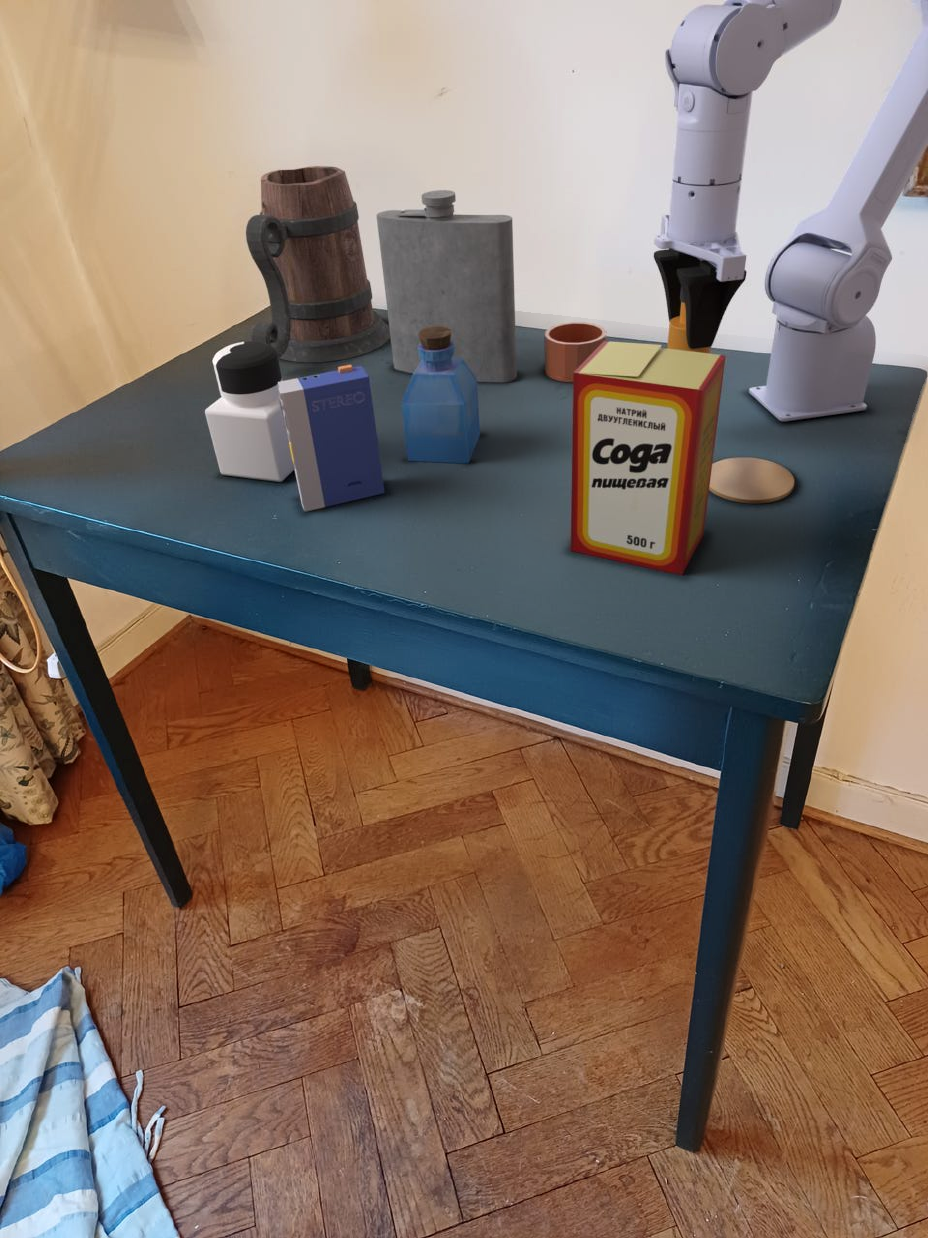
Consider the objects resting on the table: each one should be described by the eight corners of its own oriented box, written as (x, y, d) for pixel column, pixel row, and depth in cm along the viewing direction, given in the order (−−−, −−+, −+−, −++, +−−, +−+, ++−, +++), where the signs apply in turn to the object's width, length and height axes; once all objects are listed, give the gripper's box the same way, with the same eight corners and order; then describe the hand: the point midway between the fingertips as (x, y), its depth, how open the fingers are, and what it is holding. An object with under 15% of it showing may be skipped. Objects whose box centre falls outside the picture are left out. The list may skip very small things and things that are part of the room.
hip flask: (520, 373, 104) (516, 189, 92) (507, 386, 102) (501, 199, 89) (401, 359, 110) (382, 185, 98) (386, 372, 107) (364, 193, 95)
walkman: (377, 480, 86) (360, 361, 79) (384, 493, 84) (368, 372, 76) (297, 498, 84) (273, 378, 77) (303, 512, 82) (278, 389, 75)
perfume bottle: (468, 463, 88) (460, 344, 80) (408, 460, 89) (394, 344, 81) (479, 434, 92) (473, 320, 85) (422, 433, 93) (411, 320, 86)
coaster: (769, 455, 85) (770, 452, 85) (809, 496, 79) (810, 492, 78) (690, 467, 84) (690, 463, 84) (724, 509, 78) (724, 505, 78)
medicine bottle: (315, 450, 92) (294, 336, 84) (282, 483, 87) (257, 365, 79) (255, 443, 94) (229, 332, 87) (219, 475, 89) (189, 360, 81)
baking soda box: (703, 533, 75) (726, 350, 65) (681, 575, 70) (702, 384, 61) (597, 512, 79) (604, 336, 69) (570, 550, 74) (573, 367, 64)
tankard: (306, 311, 127) (280, 157, 114) (412, 320, 121) (396, 158, 109) (210, 375, 110) (167, 202, 98) (327, 389, 104) (297, 207, 92)
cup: (594, 355, 107) (595, 318, 104) (612, 377, 102) (614, 339, 99) (538, 363, 106) (538, 326, 104) (553, 385, 101) (553, 347, 98)
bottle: (697, 373, 87) (708, 277, 81) (713, 389, 84) (725, 290, 78) (658, 378, 86) (666, 282, 81) (672, 394, 83) (681, 295, 78)
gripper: (633, 166, 79) (625, 316, 88) (692, 202, 68) (677, 371, 76) (708, 158, 80) (693, 309, 88) (780, 193, 69) (754, 362, 77)
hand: (690, 337), depth 82 cm, fingers closed on bottle, 4 cm apart
